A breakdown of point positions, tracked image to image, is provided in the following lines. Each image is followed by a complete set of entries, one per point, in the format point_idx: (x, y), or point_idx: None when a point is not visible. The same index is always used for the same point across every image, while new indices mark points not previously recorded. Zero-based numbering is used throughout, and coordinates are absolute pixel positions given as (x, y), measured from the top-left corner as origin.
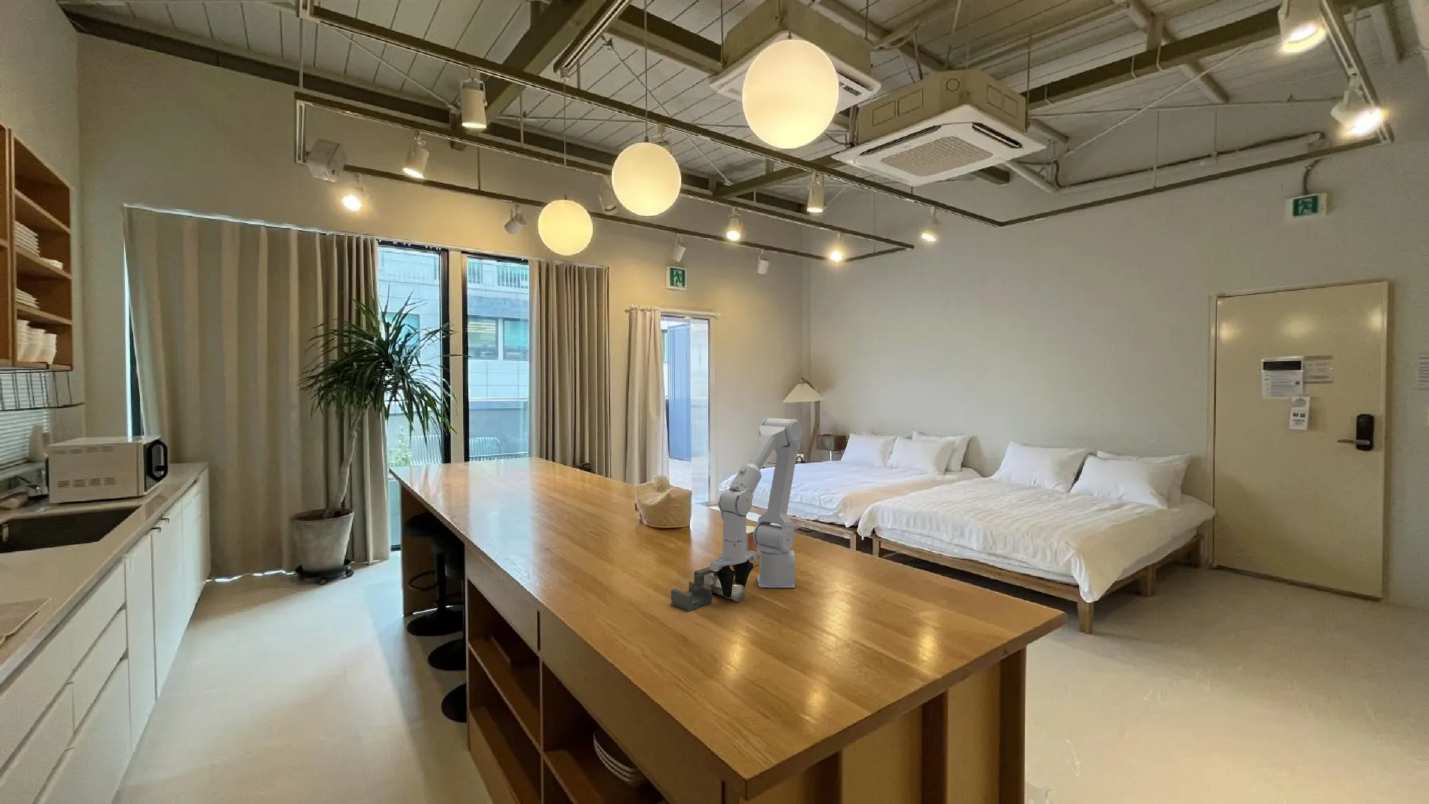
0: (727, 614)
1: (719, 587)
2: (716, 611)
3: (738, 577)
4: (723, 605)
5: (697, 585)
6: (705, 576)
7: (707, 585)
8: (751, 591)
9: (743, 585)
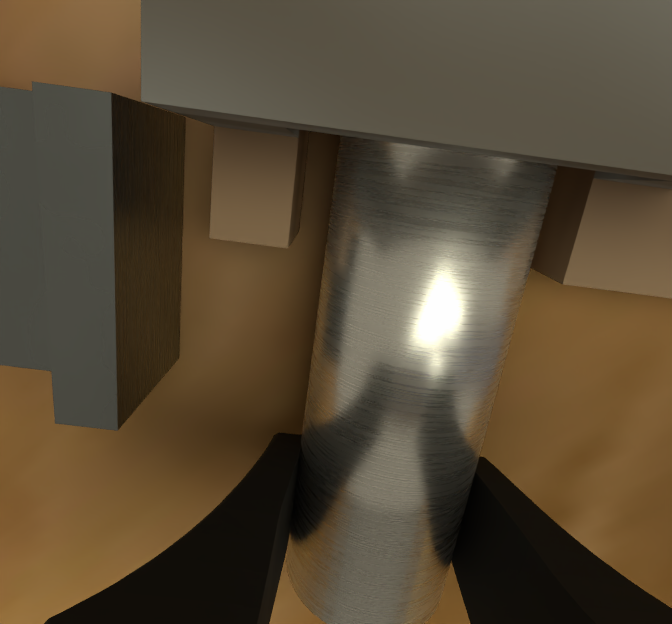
0: (101, 564)
1: (311, 385)
2: (77, 484)
3: (514, 594)
4: (210, 456)
5: (44, 217)
6: None
7: (282, 217)
8: (635, 452)
9: (464, 593)
